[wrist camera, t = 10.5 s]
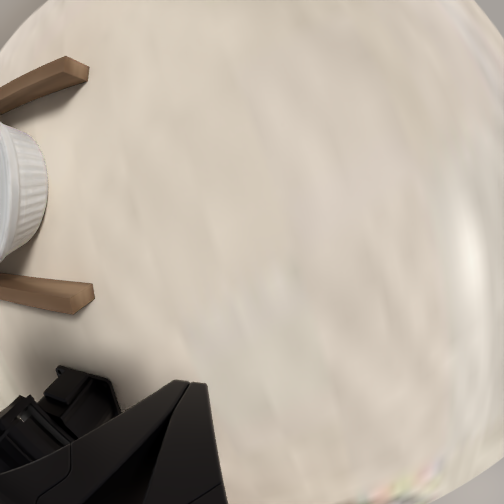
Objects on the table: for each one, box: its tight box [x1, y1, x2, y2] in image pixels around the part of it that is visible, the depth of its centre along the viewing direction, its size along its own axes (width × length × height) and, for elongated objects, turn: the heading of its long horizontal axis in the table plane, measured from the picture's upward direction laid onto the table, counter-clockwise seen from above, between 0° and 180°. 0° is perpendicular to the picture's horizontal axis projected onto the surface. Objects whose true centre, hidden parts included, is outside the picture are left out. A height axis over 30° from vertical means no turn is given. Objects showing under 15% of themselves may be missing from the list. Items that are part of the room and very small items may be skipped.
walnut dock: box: [0, 56, 95, 314], centre depth 17 cm, size 17×15×3 cm
